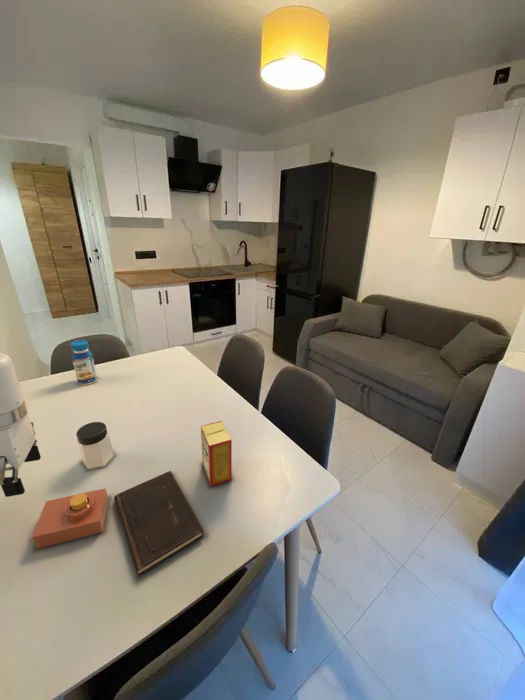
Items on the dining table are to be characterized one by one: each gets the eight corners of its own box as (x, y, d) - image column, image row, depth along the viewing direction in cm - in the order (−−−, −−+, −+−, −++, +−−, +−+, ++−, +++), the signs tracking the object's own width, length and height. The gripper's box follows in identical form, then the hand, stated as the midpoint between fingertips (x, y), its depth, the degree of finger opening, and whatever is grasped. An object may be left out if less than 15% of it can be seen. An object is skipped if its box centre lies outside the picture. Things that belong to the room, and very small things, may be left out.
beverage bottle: (101, 378, 142) (94, 340, 134) (88, 386, 134) (79, 347, 126) (87, 375, 143) (78, 338, 135) (73, 383, 136) (63, 344, 128)
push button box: (36, 548, 69) (29, 532, 66) (50, 512, 77) (44, 496, 75) (102, 532, 73) (98, 515, 71) (108, 498, 82) (104, 483, 79)
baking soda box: (231, 479, 90) (231, 439, 83) (210, 486, 87) (209, 445, 80) (222, 458, 97) (221, 419, 91) (202, 464, 95) (200, 424, 88)
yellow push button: (69, 512, 71) (68, 507, 71) (73, 500, 74) (71, 494, 74) (86, 509, 72) (84, 503, 72) (89, 497, 76) (87, 491, 75)
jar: (115, 447, 100) (109, 419, 95) (112, 465, 93) (105, 435, 88) (85, 453, 97) (77, 424, 92) (80, 471, 90) (71, 441, 85)
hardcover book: (171, 475, 90) (170, 470, 89) (203, 536, 73) (203, 530, 72) (115, 501, 81) (113, 495, 80) (137, 577, 64) (136, 570, 63)
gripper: (-1, 392, 64) (20, 451, 71) (-48, 446, 49) (-17, 514, 56) (40, 388, 66) (56, 446, 73) (6, 439, 51) (30, 505, 58)
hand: (24, 476), depth 65 cm, fingers open, 9 cm apart
